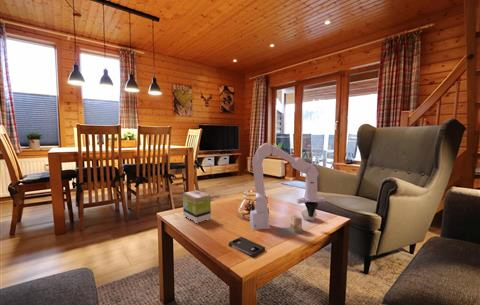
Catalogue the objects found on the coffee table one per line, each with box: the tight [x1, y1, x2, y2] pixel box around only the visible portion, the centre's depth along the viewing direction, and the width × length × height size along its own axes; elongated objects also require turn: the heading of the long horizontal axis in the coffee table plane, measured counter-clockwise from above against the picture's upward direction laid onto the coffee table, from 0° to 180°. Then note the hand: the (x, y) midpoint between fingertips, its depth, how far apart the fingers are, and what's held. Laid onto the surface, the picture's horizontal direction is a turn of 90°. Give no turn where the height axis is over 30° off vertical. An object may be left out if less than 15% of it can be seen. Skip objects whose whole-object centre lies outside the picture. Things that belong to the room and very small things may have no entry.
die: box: [300, 204, 317, 222], centre depth 130 cm, size 8×9×10 cm
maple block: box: [289, 214, 303, 233], centre depth 115 cm, size 4×4×7 cm
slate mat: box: [273, 226, 308, 238], centre depth 115 cm, size 14×9×1 cm, turn 102°
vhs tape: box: [228, 236, 266, 258], centre depth 99 cm, size 14×8×2 cm, turn 46°
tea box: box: [182, 189, 212, 224], centre depth 133 cm, size 15×10×15 cm, turn 42°
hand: (310, 216), depth 116 cm, fingers closed
